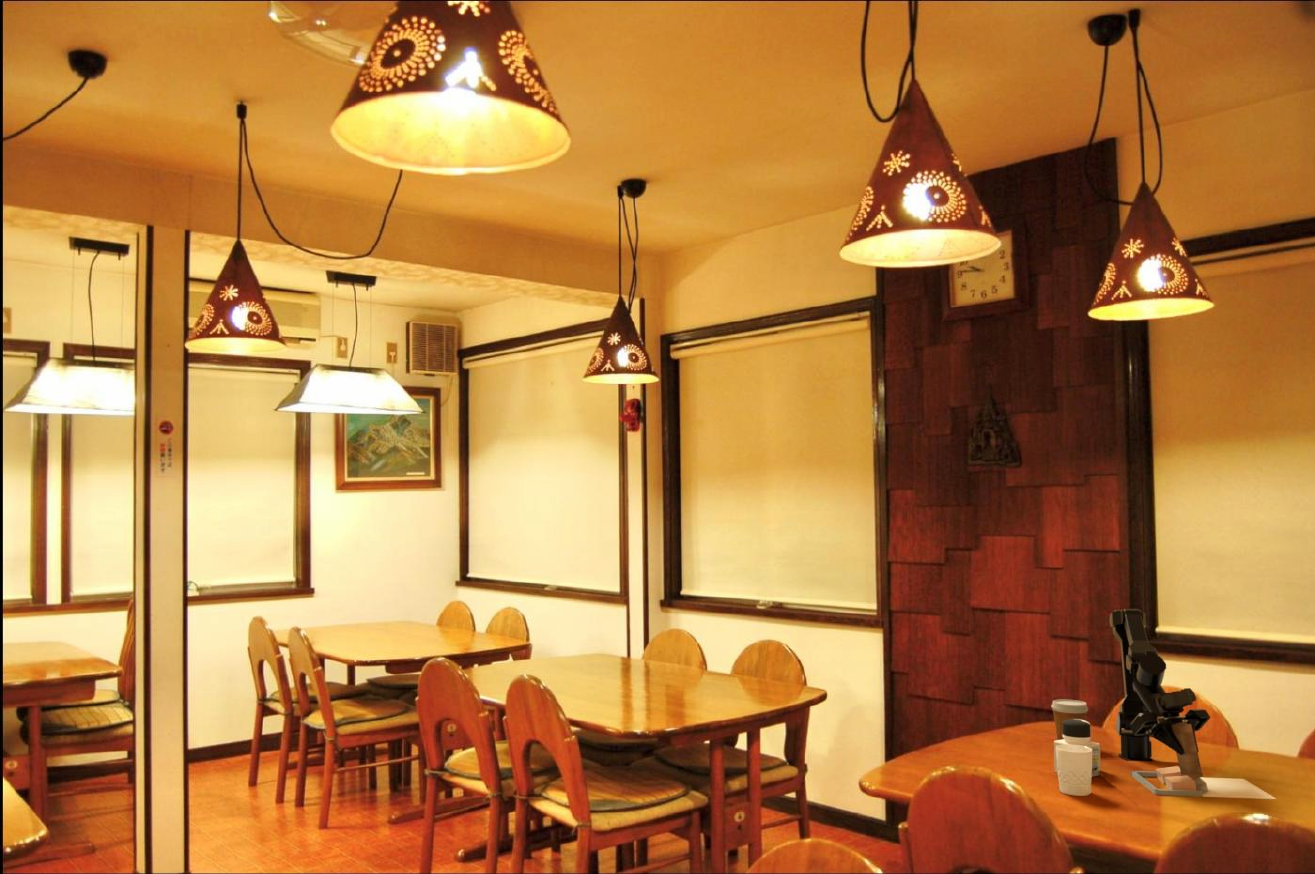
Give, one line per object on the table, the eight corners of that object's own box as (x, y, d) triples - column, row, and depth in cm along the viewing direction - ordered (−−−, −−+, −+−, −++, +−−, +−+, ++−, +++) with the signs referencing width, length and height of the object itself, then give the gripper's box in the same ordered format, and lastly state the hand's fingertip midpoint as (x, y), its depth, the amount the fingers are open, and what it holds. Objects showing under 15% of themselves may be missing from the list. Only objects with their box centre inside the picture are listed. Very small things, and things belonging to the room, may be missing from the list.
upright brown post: (1195, 777, 246) (1182, 718, 247) (1212, 791, 234) (1197, 728, 236) (1177, 779, 247) (1163, 720, 248) (1193, 793, 235) (1178, 731, 236)
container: (1079, 779, 251) (1078, 724, 252) (1053, 771, 258) (1052, 718, 259) (1101, 775, 255) (1100, 721, 255) (1075, 768, 261) (1074, 715, 262)
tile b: (1180, 778, 247) (1177, 765, 247) (1187, 784, 242) (1184, 771, 242) (1158, 781, 248) (1155, 768, 248) (1164, 786, 243) (1161, 773, 243)
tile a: (1189, 788, 239) (1187, 775, 240) (1197, 794, 235) (1194, 780, 235) (1166, 789, 240) (1164, 776, 241) (1173, 795, 235) (1171, 782, 236)
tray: (1174, 781, 249) (1174, 772, 249) (1202, 801, 232) (1202, 791, 232) (1131, 779, 250) (1131, 770, 251) (1155, 799, 234) (1155, 789, 234)
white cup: (1050, 787, 243) (1049, 744, 244) (1082, 787, 244) (1082, 743, 245) (1066, 797, 236) (1065, 752, 236) (1100, 796, 236) (1098, 751, 237)
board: (1243, 783, 247) (1243, 778, 247) (1276, 804, 230) (1276, 798, 230) (1174, 781, 249) (1174, 776, 249) (1202, 801, 232) (1202, 796, 232)
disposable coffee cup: (1073, 752, 278) (1072, 706, 279) (1044, 744, 286) (1043, 700, 287) (1096, 748, 283) (1095, 703, 284) (1067, 741, 291) (1066, 697, 292)
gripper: (1137, 678, 244) (1173, 735, 232) (1202, 674, 249) (1241, 730, 237) (1115, 706, 251) (1149, 763, 239) (1179, 701, 256) (1216, 758, 244)
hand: (1189, 753), depth 240 cm, fingers closed on upright brown post, 4 cm apart
